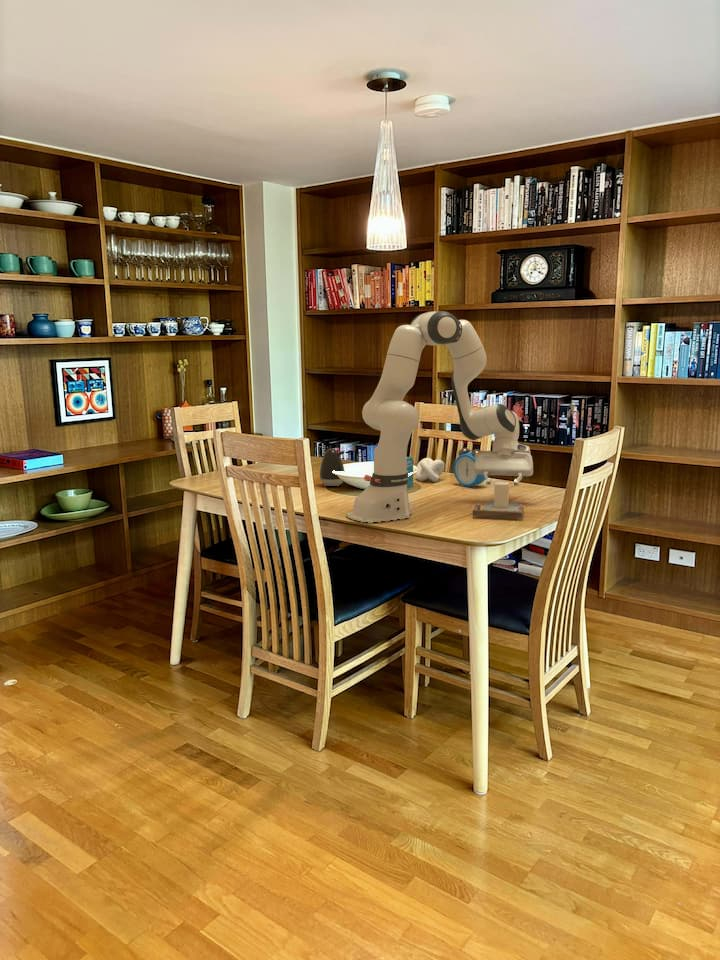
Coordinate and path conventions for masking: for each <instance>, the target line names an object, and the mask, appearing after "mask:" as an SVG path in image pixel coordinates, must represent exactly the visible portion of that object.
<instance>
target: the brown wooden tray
mask: <svg viewBox="0 0 720 960" xmlns="http://www.w3.org/2000/svg"><path fill="white" fill-rule="evenodd" d="M524 507H525V506H524V504H521V503H520V506H519V510H518V511H505V510H482V509H481V502H476V504H475V506H474V508H473V509H472V519H480V520H499V521H500V520H501V521H502V520H503V521H520V522H521V521H522V520H523V517H524V510H525V509H524Z"/></svg>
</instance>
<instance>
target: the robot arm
mask: <svg viewBox="0 0 720 960" xmlns="http://www.w3.org/2000/svg"><path fill="white" fill-rule="evenodd" d="M440 345H445V346H446V348H447V349H448V351H449V354H450V356H451V357H452V361H453V367H454V368H453V370H454V371H452V373H451V376H450V380H451V388H452V392H453V396H454V400H455V405H456V407H457V408H456V409H457V412H458V416H459V417H458V418H459V427H460V432H461V433H462V435H463V436H464V437H466V438H467V439H469V440H472V441H476V440H479V439H481V438H483V437H488V436H492V435H493V442H492V450H481V451H479V452H477V453H476V454H475V464H474V472H475V473H476V474H478V475H484V478H485V484H486V486H488V485H489V486H490V485H491V483H492V479H491V477H489V476H507V477H508V476H509V477H510V476H511V477H512V476H514V477H515V476H516V477H517V478H514V480H513V486H515V487H516V486H517V487H519V485H520V483H519V482H521V480H522V479H523V477H531V476H533V474H534V462H533V456H532V455H531V448H530V446H529V445H525V444H521V443H519V441H518V439H519V437H520V419H519V416H518V415H517V412H515V411H514V410H512V409H510V408H509V407H507V406H506V405H505V404H502V403H498V404H495V405H491V406H488V407H484V408H481V409H478V410H473V408H472V403H471V401H470V396H469V392H468V386H469V384H470V383H471V382H472V381H473V380H474V379H476V378H477V377H478V376H479V375H480V374H482V372H483V371H484V370H485V367H486V365H487V363H488V362H487V361H488V360H487V359H488V358H487V353H486V350H485V347H484V345H483V343H482V340H481V339H480V337H479V335H478V333H477V330H475V328H474V327H473V325H472V323H471V322H470V321H468V320H467V319H458V318H457V317H456V316H454V314H452V313H450V312H448V311H446V310H445V311H444V310H441V311H440V310H439V311H435V310H434V311H426V312H424V313H420V314H417V315H416V316H415V317H414V318H413V319H412V320H411V322H410V323H409V324H402V325H399V326H398V327H397V328H396V329H395V331H394V333H393V335H392V338H391V340H390V342H389V346H388V349H387V353H386V357H385V361H384V365H383V369H382V372H381V376H380V380H379V382H378V384H377V386H376V388H375V390H374V392H373V394H372V395H371V397H370V398H369V400H368V401H366V402H365V404H364V405H363V408H362V410H361V415H362V419H363V421H364V422H365V424H366V425H367V426H369V427H370V428H372V429H373V430H376V431H380V434H379V435H380V436H379V441H378V443H377V445H376V446H375V447H374V449H373V473H372V475H368V474H365V475H364V477H363V480H364V481H365V482H369V485H368V486H367V487H366V488H364V490H363V491H362V492H361V493H359V495H358V496H356V497H355V499H354V502H353V510H352V511H351V512H347V513H346V517H347V516H348V517H350V518H352V519H354V520H357V521H361V522H360V523H362V522H368V523H367V524H374V523H373V522H378V523H382V522H381V521H385V522H391V521H390V520H393V521H398V520H397V519H400V520H406V519H405V518H408V519H410V518H409V517H410V516H409V515H410V514H411V515H412V514H413V513H412V509H411V505H410V501H409V492H408V488H407V484H408V473H407V457H408V456H407V454H408V445H409V443H410V442H409V441H410V438H411V435H412V433H413V431H414V430H415V429H416V427H417V426H418V425H419V420H420V416H419V412H418V410H417V409H416V407H415V406H413V405H412V404H410V403H409V402H407V401H404V399H405V396H406V394H407V393H408V392H409V391H410V389H412V388H413V386H414V385H415V381H416V379H417V378H416V377H417V373H418V369H419V364H420V360H421V355H422V352H423V349H424V348H425V347H426V346H440ZM348 517H347V518H348ZM354 520H353V521H354ZM357 521H356V522H357Z"/></svg>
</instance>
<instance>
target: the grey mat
mask: <svg viewBox="0 0 720 960" xmlns="http://www.w3.org/2000/svg"><path fill="white" fill-rule="evenodd" d="M520 504H521V502H509V503H508V508H500V507H494V501H490V500H489V501H487V500H485V502H484V504H483V506H482V508H481V510H492V511H515V512H518V510H519V506H520Z"/></svg>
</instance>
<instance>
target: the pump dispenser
mask: <svg viewBox="0 0 720 960" xmlns="http://www.w3.org/2000/svg"><path fill="white" fill-rule="evenodd" d="M343 454H345V451H344V450H340V451H338V450H337V449H335V448H328V449H326V451H325V452H324V454H323V456H322V458H321V459H322V460H321V462H320V468H319V478H320V481H321V483H322V484H323V486H325V487H327V486H337V487H339V486H341V485H342V484H343V482H344V480H341V479H340V478H339V477H338V476H337V475H335V474H333V473H332V471H333V470H335V471H344V472H345V465H344V463H343V460H342V458H341V456H342V455H343Z"/></svg>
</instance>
